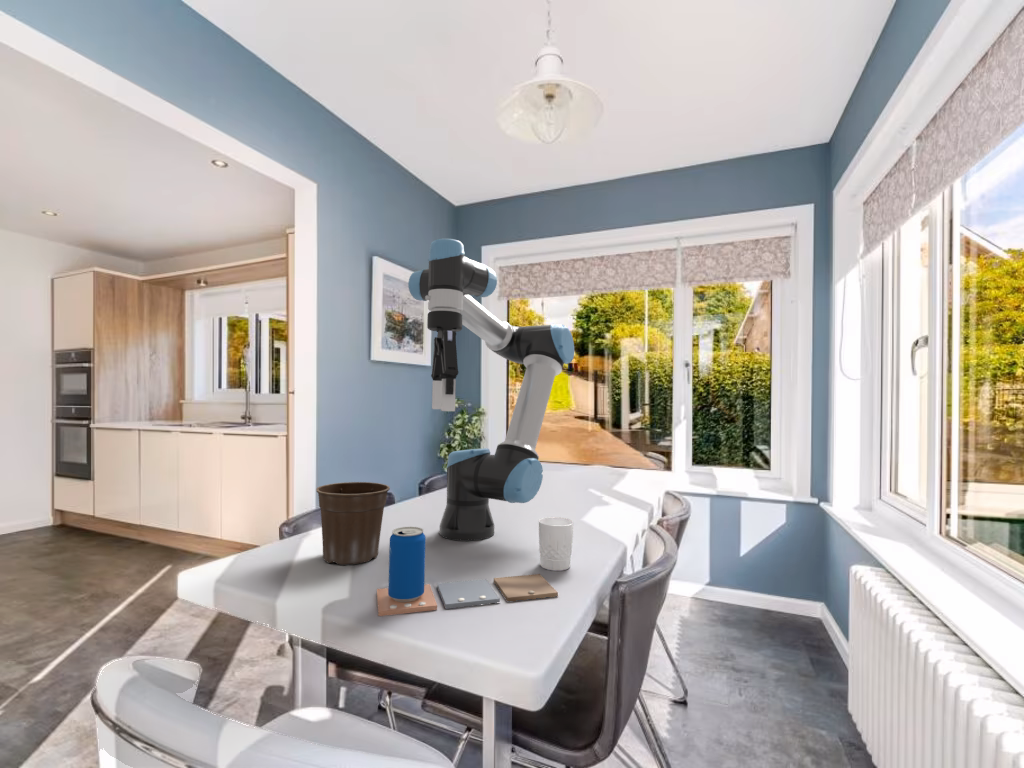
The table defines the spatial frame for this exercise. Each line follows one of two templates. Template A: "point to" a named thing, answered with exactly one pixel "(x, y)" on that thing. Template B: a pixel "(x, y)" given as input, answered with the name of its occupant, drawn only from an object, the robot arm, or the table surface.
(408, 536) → the beverage can
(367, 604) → the table surface
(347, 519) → the plant pot
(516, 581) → the one-dot tile
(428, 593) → the three-dot tile
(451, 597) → the two-dot tile
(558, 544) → the white cup
